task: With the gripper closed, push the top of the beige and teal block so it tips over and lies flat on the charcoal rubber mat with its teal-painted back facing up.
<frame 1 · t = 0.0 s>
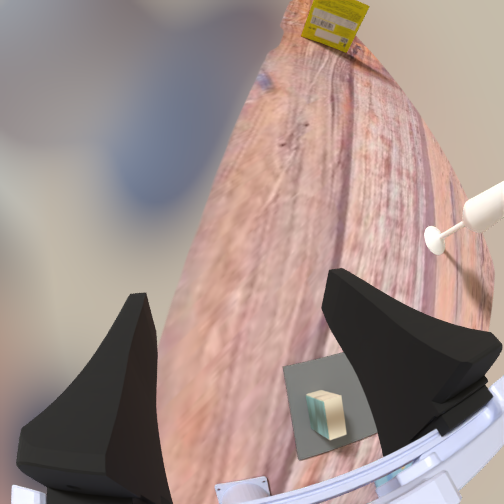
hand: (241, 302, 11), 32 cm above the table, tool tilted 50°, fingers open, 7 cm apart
food package: (323, 44, 73), on the table
mat: (335, 403, 41), on the table
champagne flute: (434, 240, 55), on the table
beige and teal block: (316, 409, 40), resting on mat
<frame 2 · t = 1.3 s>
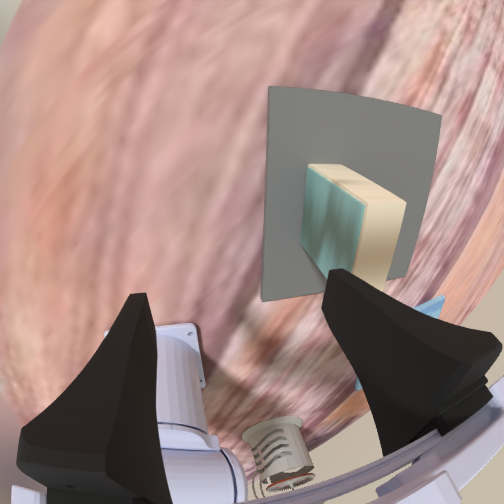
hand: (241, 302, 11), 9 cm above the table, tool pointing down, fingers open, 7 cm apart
mat: (358, 200, 21), on the table
french press: (268, 432, 39), on the table
folded blue cloth: (395, 342, 35), on the table
beige and teal block: (320, 205, 20), resting on mat
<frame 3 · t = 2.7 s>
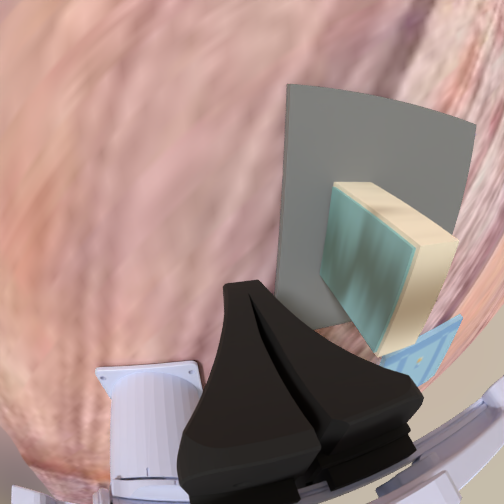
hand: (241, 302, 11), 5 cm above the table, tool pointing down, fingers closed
mat: (385, 223, 18), on the table
folded blue cloth: (408, 363, 31), on the table
beige and teal block: (345, 230, 17), resting on mat
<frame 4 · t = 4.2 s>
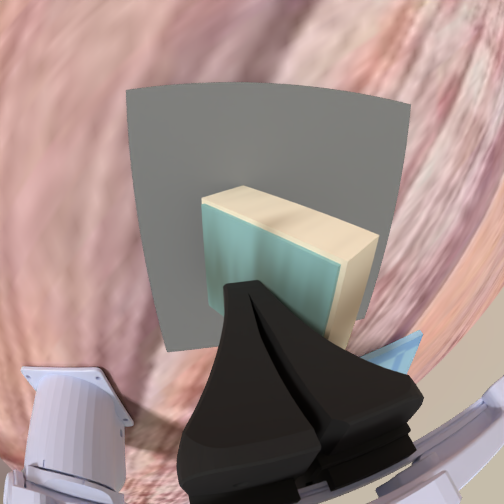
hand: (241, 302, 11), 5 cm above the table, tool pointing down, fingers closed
mat: (280, 231, 16), on the table
folded blue cloth: (361, 381, 30), on the table
beige and teal block: (224, 248, 15), point 1 cm above the table, tilted 32°, touching mat
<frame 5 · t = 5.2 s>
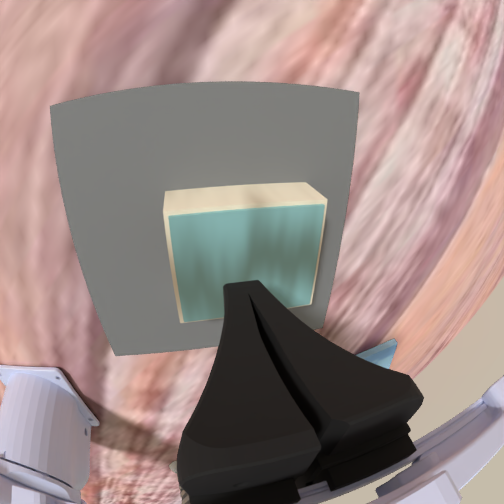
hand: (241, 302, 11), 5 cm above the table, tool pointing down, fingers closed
mat: (212, 237, 16), on the table
folded blue cloth: (332, 389, 29), on the table
beige and teal block: (171, 259, 14), point 2 cm above the table, tilted 90°, touching mat
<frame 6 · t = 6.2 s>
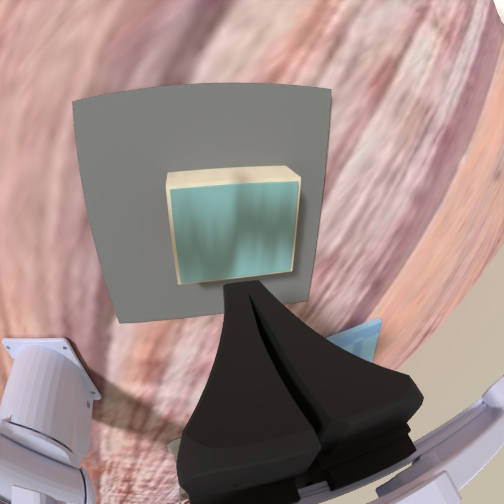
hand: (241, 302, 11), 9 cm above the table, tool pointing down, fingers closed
mat: (207, 213, 18), on the table
folded blue cloth: (322, 368, 32), on the table
beige and teal block: (171, 229, 16), point 2 cm above the table, tilted 90°, touching mat
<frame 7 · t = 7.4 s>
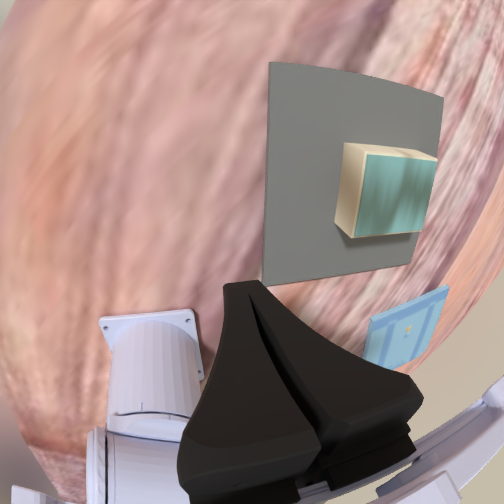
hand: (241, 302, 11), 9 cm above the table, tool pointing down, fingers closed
mat: (361, 181, 21), on the table
folded blue cloth: (398, 333, 34), on the table
beige and teal block: (348, 189, 19), point 2 cm above the table, tilted 90°, touching mat
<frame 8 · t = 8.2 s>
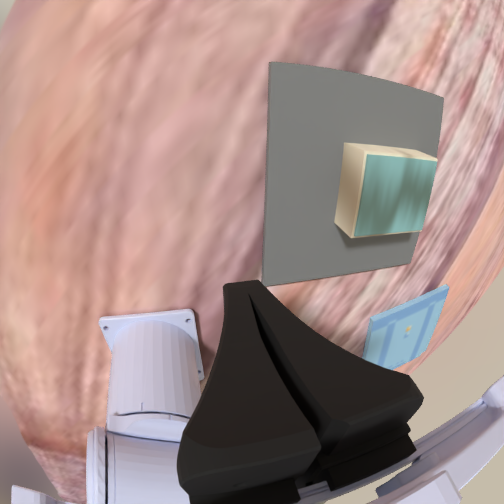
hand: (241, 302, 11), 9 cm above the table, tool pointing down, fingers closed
mat: (361, 181, 21), on the table
folded blue cloth: (398, 333, 34), on the table
beige and teal block: (348, 189, 19), point 2 cm above the table, tilted 90°, touching mat
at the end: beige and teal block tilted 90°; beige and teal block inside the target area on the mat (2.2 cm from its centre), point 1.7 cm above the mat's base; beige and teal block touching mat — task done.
